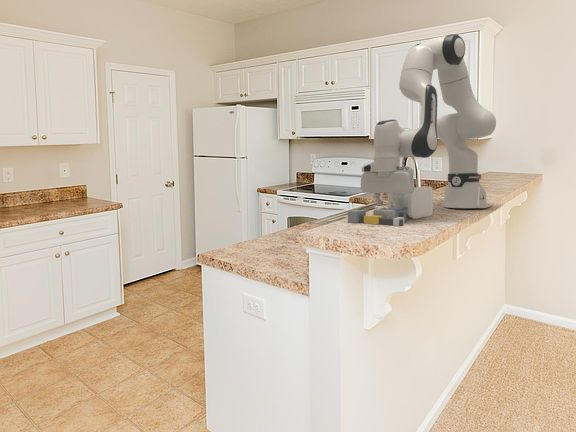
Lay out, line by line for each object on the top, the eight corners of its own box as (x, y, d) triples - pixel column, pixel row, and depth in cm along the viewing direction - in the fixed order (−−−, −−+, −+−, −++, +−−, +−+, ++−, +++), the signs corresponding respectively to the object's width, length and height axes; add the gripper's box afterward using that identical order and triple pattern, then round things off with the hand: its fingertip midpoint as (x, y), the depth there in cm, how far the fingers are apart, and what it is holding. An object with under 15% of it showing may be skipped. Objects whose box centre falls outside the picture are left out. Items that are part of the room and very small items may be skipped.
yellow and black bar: (364, 222, 163) (364, 214, 162) (404, 225, 151) (404, 217, 151) (357, 223, 160) (357, 215, 160) (398, 226, 148) (398, 218, 148)
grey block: (356, 221, 166) (356, 210, 165) (367, 222, 162) (367, 210, 162) (347, 222, 162) (347, 211, 162) (358, 223, 159) (358, 211, 159)
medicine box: (395, 210, 156) (373, 209, 161) (395, 223, 156) (372, 222, 162) (406, 208, 162) (384, 207, 167) (406, 221, 162) (384, 220, 168)
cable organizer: (410, 220, 165) (410, 187, 164) (386, 218, 173) (386, 187, 171) (433, 217, 174) (433, 186, 173) (409, 215, 182) (409, 186, 181)
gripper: (418, 166, 156) (417, 206, 157) (368, 167, 171) (368, 204, 172) (408, 166, 152) (407, 208, 153) (357, 167, 166) (358, 205, 168)
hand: (386, 206), depth 163 cm, fingers open, 4 cm apart
